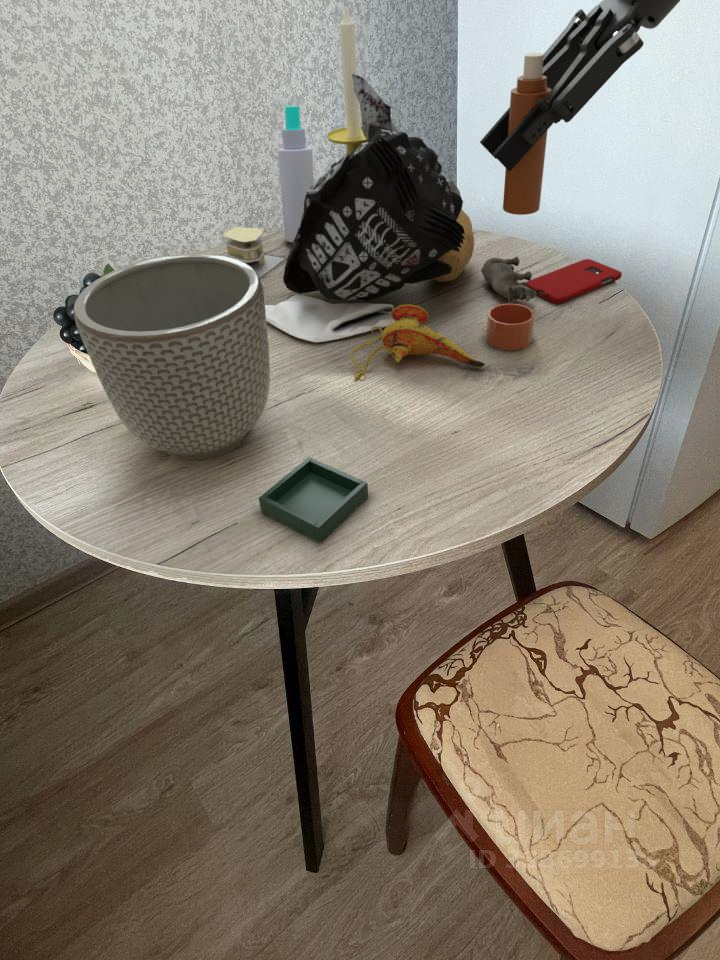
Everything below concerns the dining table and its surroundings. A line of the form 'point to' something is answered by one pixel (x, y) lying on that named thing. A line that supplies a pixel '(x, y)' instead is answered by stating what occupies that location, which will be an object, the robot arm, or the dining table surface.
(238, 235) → the stacked layers on plate
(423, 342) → the magic lamp
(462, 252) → the potato
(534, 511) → the dining table surface
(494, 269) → the rhino figurine
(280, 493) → the tray
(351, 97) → the candle
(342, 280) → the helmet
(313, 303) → the cloth
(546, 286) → the cell phone
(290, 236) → the spray bottle
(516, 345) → the terracotta round cup
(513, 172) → the bottle
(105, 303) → the planter
